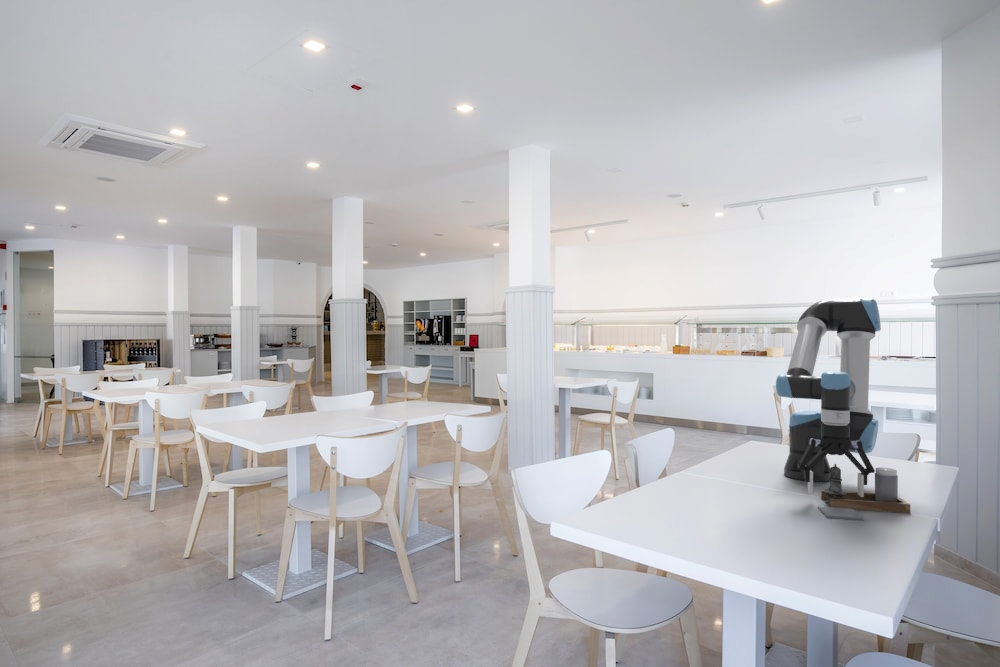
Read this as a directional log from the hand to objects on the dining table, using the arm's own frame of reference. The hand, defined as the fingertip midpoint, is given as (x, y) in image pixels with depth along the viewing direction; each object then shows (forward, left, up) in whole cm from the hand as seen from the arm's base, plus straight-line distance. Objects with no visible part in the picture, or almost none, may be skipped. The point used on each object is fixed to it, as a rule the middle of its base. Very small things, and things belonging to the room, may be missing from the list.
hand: (835, 494), depth 173 cm
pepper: (0, +14, -3) cm, 14 cm away
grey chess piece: (0, 0, -3) cm, 3 cm away
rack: (0, +7, -3) cm, 8 cm away
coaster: (+11, -2, -3) cm, 12 cm away
